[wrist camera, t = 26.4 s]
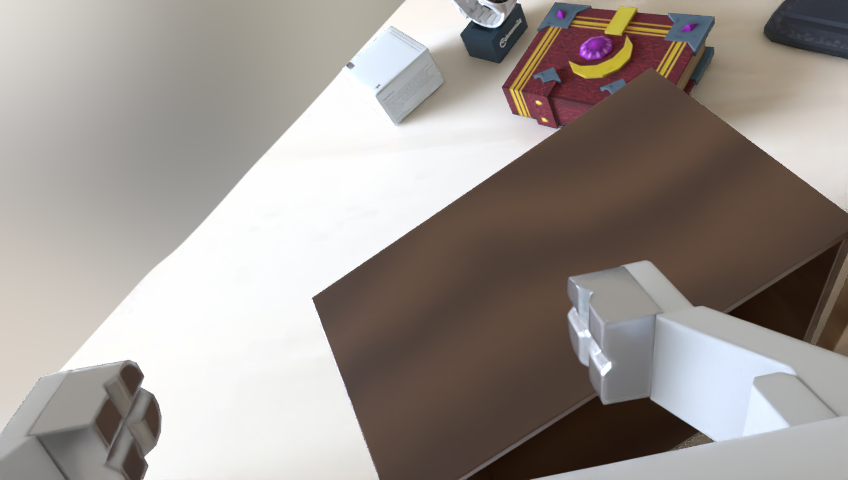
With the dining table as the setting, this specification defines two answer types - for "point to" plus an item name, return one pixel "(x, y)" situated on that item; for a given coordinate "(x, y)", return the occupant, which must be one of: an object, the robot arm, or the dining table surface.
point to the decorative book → (602, 58)
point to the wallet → (811, 25)
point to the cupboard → (547, 289)
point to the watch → (491, 27)
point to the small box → (394, 74)
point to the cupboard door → (837, 325)
